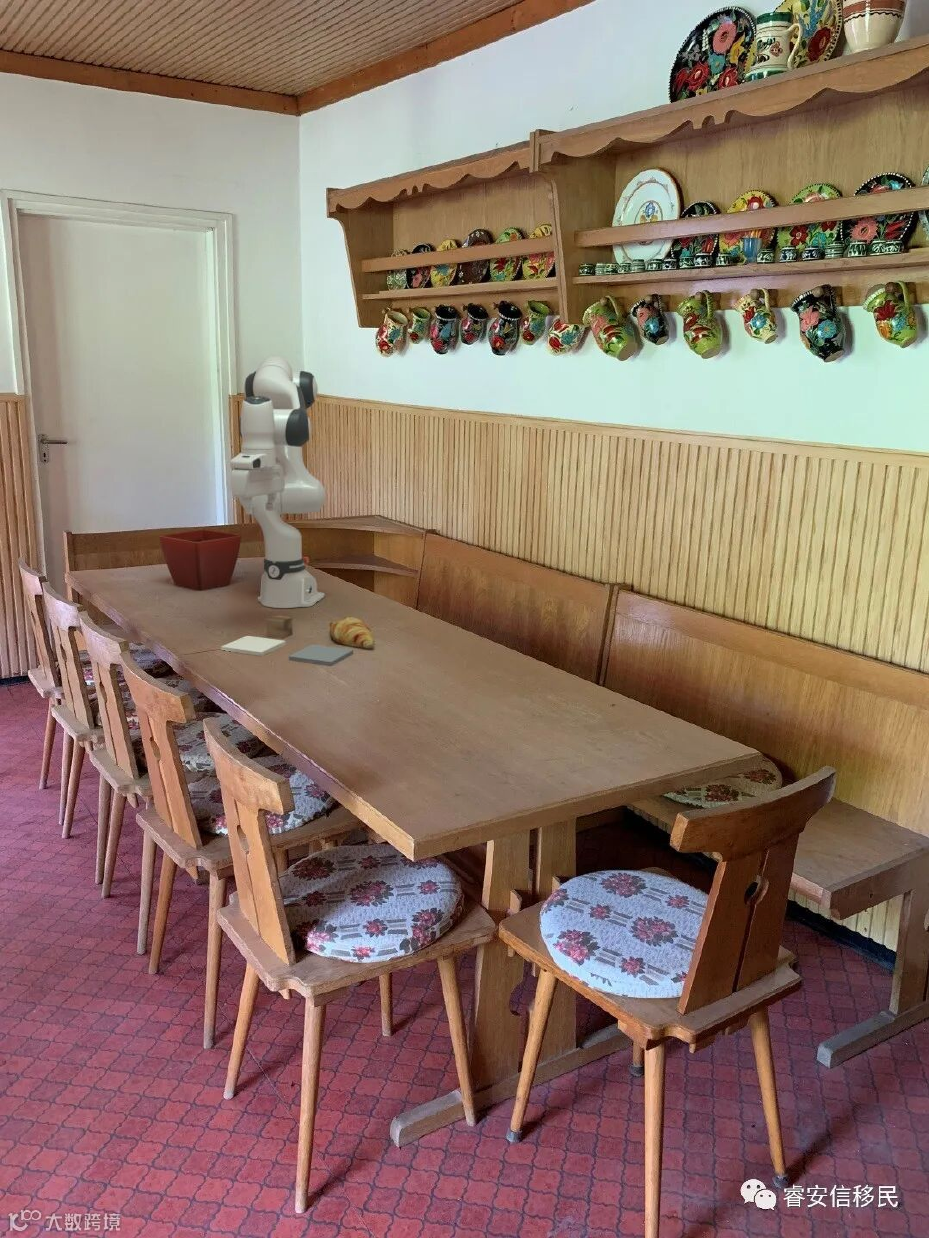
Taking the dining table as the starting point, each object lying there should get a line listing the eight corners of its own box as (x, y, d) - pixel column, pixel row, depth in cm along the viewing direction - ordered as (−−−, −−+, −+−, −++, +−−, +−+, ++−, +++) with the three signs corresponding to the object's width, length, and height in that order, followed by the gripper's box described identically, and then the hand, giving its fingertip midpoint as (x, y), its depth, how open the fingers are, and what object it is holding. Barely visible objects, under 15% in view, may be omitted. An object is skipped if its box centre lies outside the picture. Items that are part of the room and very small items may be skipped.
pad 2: (312, 648, 265) (312, 644, 265) (353, 653, 261) (353, 649, 261) (289, 659, 254) (288, 656, 254) (331, 665, 250) (331, 662, 250)
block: (276, 632, 279) (276, 615, 278) (292, 634, 278) (292, 617, 276) (267, 637, 275) (266, 619, 273) (283, 639, 273) (282, 621, 272)
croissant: (381, 661, 267) (393, 634, 267) (352, 650, 260) (365, 621, 261) (339, 641, 283) (350, 615, 283) (311, 630, 276) (323, 603, 277)
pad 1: (246, 639, 272) (246, 635, 272) (285, 644, 268) (285, 640, 267) (221, 650, 261) (221, 646, 261) (261, 656, 257) (261, 652, 257)
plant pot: (206, 577, 347) (204, 528, 342) (244, 585, 336) (242, 535, 332) (160, 586, 332) (157, 535, 327) (198, 594, 321) (196, 542, 317)
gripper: (270, 456, 276) (271, 507, 279) (226, 461, 257) (227, 515, 260) (290, 457, 273) (291, 508, 277) (247, 462, 255) (248, 517, 258)
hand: (260, 512), depth 268 cm, fingers open, 8 cm apart
